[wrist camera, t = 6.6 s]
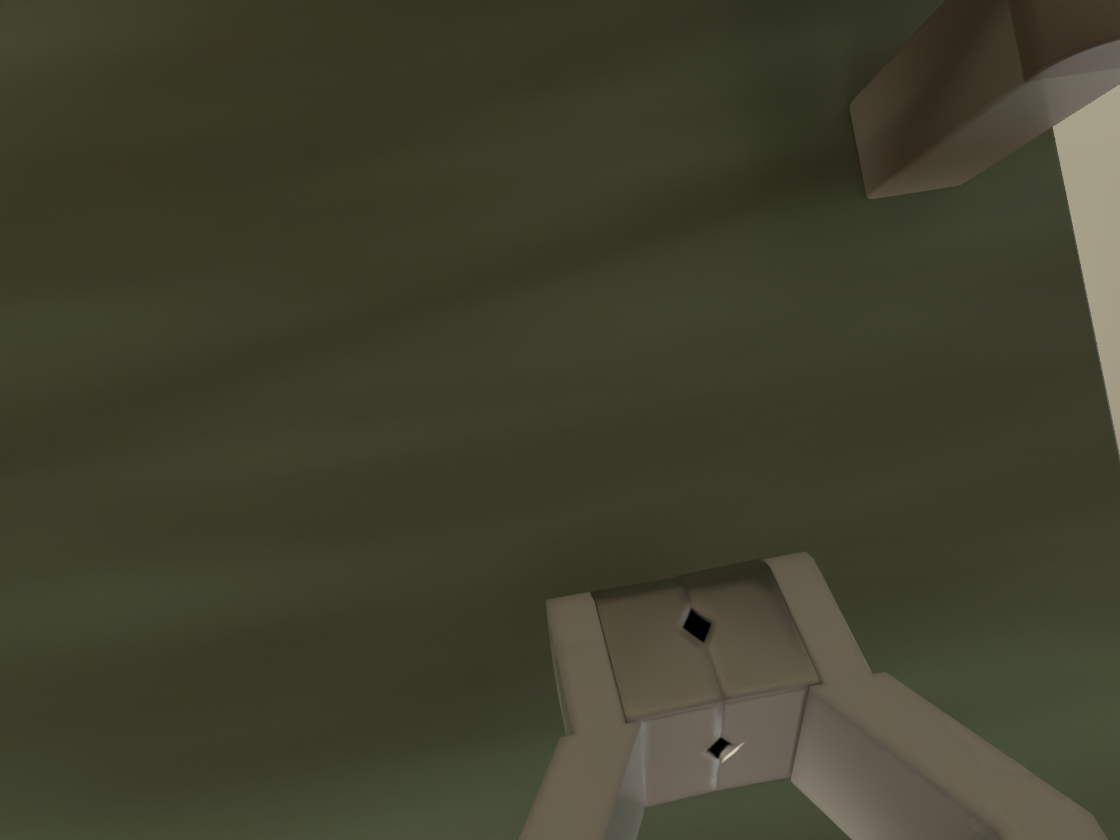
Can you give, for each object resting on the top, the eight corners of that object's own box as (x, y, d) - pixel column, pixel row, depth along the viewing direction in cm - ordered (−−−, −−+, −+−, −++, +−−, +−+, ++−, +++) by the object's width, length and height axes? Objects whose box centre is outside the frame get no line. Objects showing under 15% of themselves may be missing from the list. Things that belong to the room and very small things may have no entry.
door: (-846, -686, 9) (-616, 1564, 8) (1188, -827, 10) (1605, 1029, 9) (-277, -193, 15) (-110, 1072, 14) (923, -327, 16) (1151, 803, 15)
